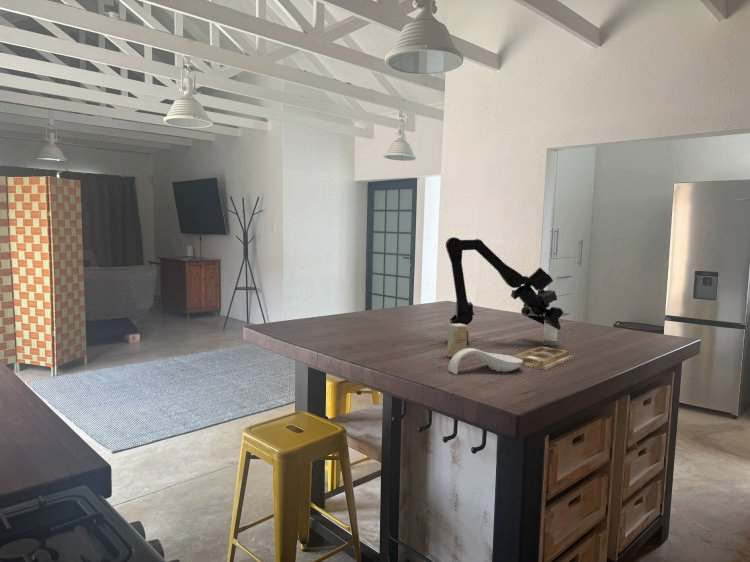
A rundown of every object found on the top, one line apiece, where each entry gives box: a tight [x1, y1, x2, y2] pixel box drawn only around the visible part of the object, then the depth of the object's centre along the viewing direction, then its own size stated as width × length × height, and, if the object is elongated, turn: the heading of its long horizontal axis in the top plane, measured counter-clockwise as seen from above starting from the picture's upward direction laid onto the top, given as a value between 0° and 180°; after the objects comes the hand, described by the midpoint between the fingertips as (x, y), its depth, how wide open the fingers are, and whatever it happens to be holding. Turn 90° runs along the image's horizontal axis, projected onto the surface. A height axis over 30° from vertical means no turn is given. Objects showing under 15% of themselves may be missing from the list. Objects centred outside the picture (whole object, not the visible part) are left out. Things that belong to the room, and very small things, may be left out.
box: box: [446, 323, 469, 359], centre depth 175 cm, size 5×4×11 cm
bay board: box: [512, 345, 573, 371], centre depth 175 cm, size 14×21×2 cm, turn 138°
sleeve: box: [542, 320, 558, 347], centre depth 198 cm, size 5×5×12 cm
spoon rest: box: [447, 347, 523, 375], centre depth 160 cm, size 24×12×7 cm, turn 111°
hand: (553, 327), depth 199 cm, fingers open, 7 cm apart
